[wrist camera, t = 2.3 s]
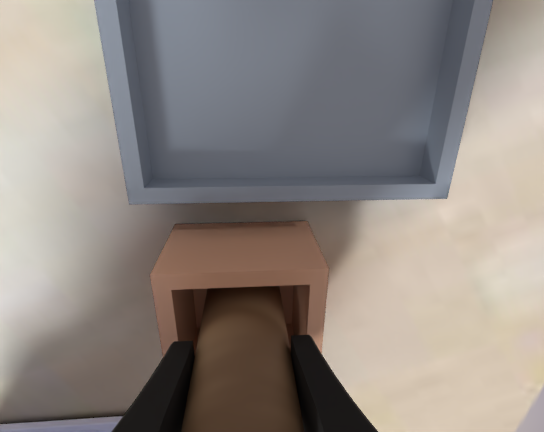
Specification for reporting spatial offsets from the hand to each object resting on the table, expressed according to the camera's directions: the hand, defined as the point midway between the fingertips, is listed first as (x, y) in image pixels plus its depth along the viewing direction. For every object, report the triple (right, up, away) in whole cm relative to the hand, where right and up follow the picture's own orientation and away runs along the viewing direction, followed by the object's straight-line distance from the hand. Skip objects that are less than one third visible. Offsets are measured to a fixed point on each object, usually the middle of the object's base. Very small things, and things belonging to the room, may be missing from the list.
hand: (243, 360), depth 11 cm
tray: (+2, +11, +1) cm, 11 cm away
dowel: (0, +2, +4) cm, 4 cm away
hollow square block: (0, +2, +5) cm, 5 cm away
